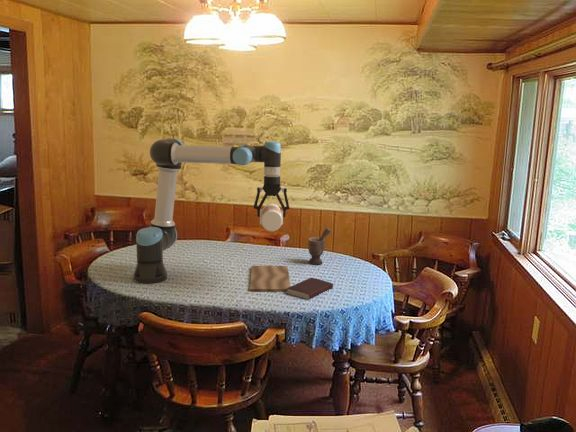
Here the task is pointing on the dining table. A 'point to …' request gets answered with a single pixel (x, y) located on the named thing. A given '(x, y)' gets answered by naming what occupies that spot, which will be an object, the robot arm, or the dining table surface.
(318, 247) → the mortar and pestle
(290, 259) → the dining table surface
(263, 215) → the fruit juice
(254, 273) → the walnut board
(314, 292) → the book
